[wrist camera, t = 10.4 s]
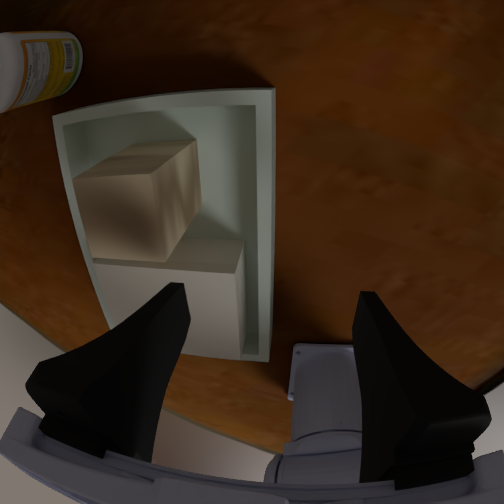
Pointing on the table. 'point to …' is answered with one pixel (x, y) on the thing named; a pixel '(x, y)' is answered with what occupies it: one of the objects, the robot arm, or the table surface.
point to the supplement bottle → (37, 66)
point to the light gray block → (188, 291)
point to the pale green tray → (211, 175)
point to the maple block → (140, 200)
